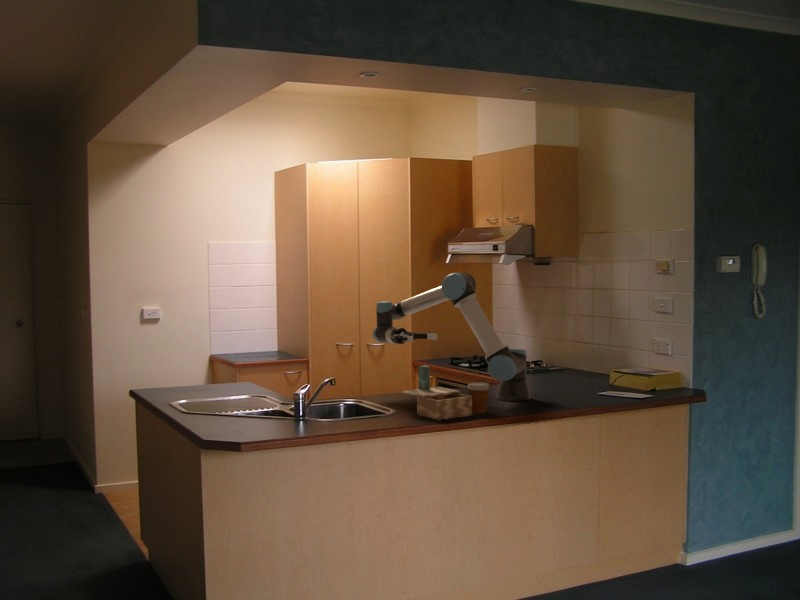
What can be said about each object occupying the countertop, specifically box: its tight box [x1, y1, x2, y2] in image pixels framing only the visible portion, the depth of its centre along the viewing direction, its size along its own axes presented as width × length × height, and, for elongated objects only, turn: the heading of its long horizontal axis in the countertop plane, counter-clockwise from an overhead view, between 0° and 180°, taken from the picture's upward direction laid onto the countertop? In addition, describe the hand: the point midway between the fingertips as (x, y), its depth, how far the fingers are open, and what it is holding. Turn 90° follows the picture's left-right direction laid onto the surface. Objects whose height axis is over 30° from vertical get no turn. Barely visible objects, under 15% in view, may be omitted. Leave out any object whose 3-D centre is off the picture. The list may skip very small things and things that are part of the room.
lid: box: [402, 365, 461, 397], centre depth 359 cm, size 19×15×11 cm
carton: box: [416, 393, 473, 421], centre depth 353 cm, size 18×14×8 cm
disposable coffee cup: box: [467, 381, 491, 414], centre depth 359 cm, size 10×10×12 cm
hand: (424, 338), depth 376 cm, fingers open, 13 cm apart
